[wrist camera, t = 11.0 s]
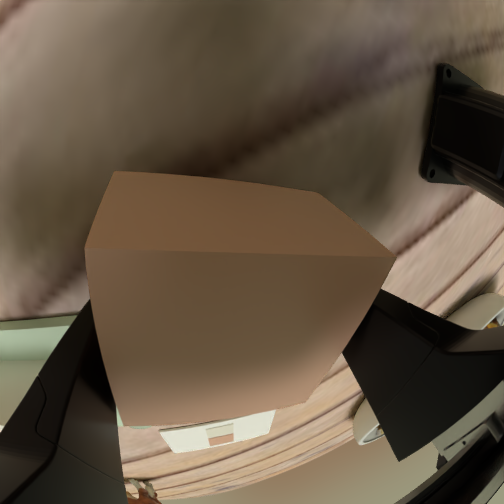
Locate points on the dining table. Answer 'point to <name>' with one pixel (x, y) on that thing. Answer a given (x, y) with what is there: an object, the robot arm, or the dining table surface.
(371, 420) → the bowl
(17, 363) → the cream brick
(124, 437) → the dining table surface
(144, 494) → the bull figurine
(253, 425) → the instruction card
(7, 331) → the plate
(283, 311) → the terracotta brick
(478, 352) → the robot arm
